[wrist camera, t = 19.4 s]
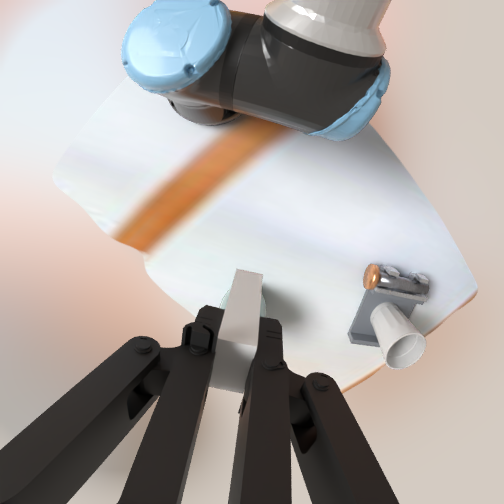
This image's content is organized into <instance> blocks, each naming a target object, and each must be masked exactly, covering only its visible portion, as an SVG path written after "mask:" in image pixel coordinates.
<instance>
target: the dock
mask: <svg viewBox="0 0 504 504" xmlns="http://www.w3.org/2000/svg"><path fill="white" fill-rule="evenodd" d="M384 302H392V303H394V304H396V305H397V307H398V308H399V309H400V311H401V312H402V313H403V314H404V315H405V316H406V317H407V318H408V319H409V317H410V314H411V312H412V310H413V308H414V306H415V304H421V305H423V303H424V301H419V300H414V299H409V298H404V297H399V296H394V295H389V294H384V293H379V292H376V291H375V290H374V289H373V290H369V289H366V292H365V294H364V297H363V299H362V302H361V304H360V306H359V309H358V311H357V314H356V316H355V318H354V320H353V323H352V325H351V327H350V330H349V332H348V336H349V339H350V342H351V343H352V344H359V345H367V346H375V347H380V345H379V342H378V339H377V336H376V334H375V331H374V328H373V326H372V324H371V321H370V317H371V314H372V312H373V310H374V309H375V308H376V307H377V306H378V305H380V304H382V303H384Z"/></svg>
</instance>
